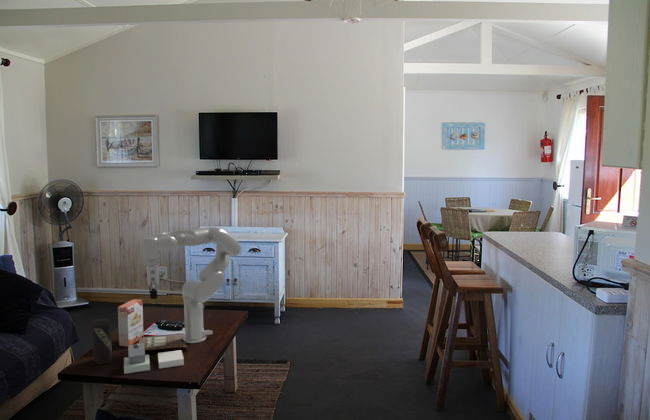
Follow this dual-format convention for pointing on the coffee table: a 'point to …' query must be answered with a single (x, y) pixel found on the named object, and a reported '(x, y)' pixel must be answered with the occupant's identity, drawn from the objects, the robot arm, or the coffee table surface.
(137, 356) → the housing
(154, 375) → the coffee table surface
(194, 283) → the robot arm
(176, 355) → the stand
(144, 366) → the stand
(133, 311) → the cracker box
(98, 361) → the container
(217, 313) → the coffee table surface
